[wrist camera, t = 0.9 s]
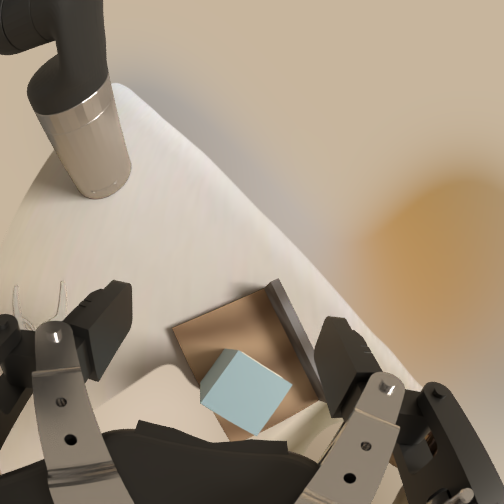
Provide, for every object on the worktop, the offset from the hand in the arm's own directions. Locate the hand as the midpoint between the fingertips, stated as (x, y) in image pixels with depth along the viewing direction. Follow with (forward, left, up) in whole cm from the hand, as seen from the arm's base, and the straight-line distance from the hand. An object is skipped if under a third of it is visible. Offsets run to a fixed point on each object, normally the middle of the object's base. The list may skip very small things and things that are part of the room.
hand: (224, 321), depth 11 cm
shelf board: (+5, +3, -23) cm, 24 cm away
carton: (+5, 0, -22) cm, 22 cm away
